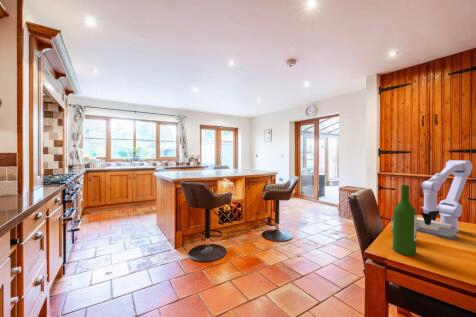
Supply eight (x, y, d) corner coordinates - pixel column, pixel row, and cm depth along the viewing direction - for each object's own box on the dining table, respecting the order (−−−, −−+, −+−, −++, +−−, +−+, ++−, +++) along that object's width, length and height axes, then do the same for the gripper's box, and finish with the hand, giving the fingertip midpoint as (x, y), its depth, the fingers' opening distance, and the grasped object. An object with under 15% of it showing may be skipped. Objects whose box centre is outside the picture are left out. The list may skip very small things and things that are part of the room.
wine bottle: (417, 258, 96) (419, 187, 95) (393, 253, 100) (394, 185, 99) (414, 250, 103) (415, 184, 102) (391, 246, 108) (392, 183, 107)
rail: (412, 222, 134) (412, 216, 134) (451, 231, 119) (451, 224, 119) (409, 223, 132) (410, 217, 132) (449, 232, 117) (449, 225, 117)
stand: (410, 225, 137) (410, 217, 137) (457, 237, 119) (457, 227, 118) (404, 228, 133) (405, 219, 133) (453, 240, 114) (453, 230, 114)
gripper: (426, 198, 133) (425, 219, 133) (417, 201, 125) (416, 223, 125) (441, 200, 127) (440, 222, 127) (432, 203, 119) (432, 227, 119)
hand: (429, 223), depth 126 cm, fingers open, 7 cm apart
